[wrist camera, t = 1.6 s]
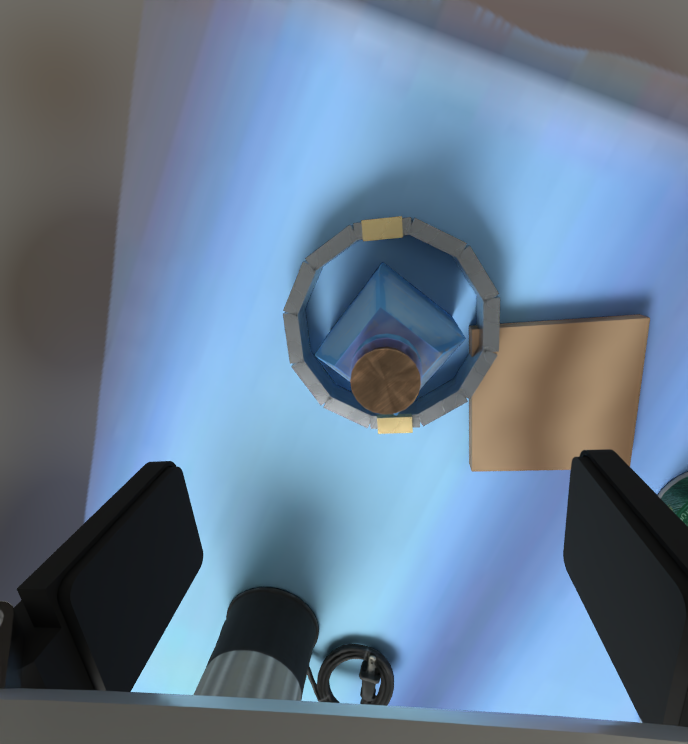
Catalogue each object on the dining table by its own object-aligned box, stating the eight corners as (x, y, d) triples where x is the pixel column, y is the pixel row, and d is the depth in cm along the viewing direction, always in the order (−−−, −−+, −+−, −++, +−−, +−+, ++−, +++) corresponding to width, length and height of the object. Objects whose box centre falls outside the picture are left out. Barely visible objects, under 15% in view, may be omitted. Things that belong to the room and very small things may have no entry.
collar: (492, 207, 27) (504, 205, 24) (489, 410, 31) (499, 429, 28) (281, 230, 29) (268, 230, 26) (306, 417, 33) (298, 436, 30)
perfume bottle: (382, 261, 29) (372, 284, 17) (452, 316, 29) (486, 372, 18) (330, 331, 31) (291, 391, 19) (396, 380, 31) (395, 467, 20)
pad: (639, 314, 28) (650, 317, 27) (621, 459, 31) (629, 468, 30) (468, 325, 29) (471, 329, 28) (469, 463, 33) (471, 471, 32)
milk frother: (217, 584, 40) (123, 773, 26) (380, 580, 38) (370, 785, 24) (250, 689, 45) (184, 898, 31) (398, 691, 42) (399, 920, 28)
